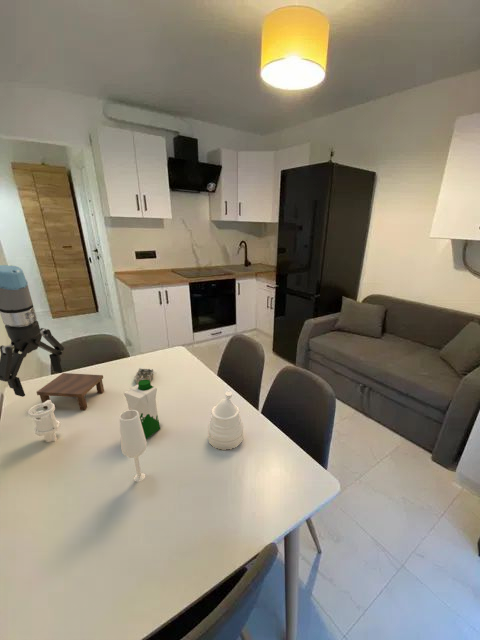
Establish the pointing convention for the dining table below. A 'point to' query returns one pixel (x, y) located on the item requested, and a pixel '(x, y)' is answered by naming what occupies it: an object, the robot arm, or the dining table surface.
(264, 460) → the dining table surface
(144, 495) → the dining table surface
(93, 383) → the low table
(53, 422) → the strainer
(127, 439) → the champagne flute
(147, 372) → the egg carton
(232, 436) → the honey pot
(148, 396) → the milk carton
